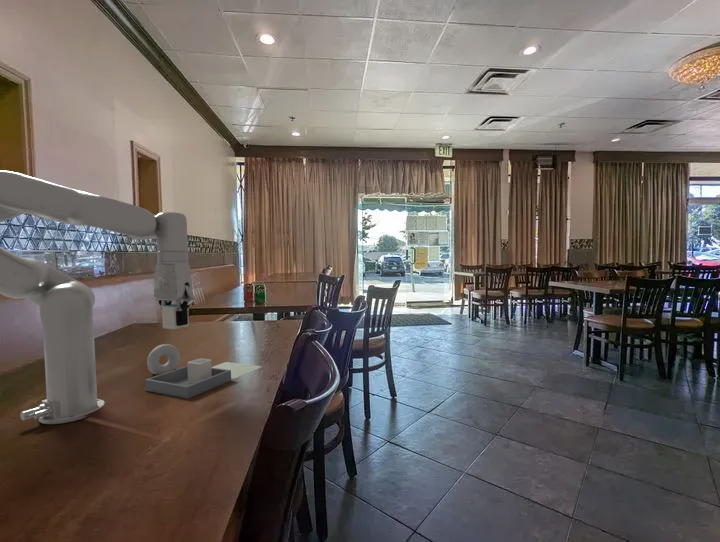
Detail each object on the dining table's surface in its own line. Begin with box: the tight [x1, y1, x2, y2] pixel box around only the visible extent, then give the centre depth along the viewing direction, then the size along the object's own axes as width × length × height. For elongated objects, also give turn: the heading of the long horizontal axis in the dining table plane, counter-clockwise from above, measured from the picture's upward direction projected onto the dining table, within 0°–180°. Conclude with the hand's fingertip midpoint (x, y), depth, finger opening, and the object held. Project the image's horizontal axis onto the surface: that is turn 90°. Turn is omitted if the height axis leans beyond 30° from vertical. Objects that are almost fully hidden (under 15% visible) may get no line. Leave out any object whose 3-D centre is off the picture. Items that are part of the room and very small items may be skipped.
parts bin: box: [144, 365, 232, 400], centre depth 104 cm, size 15×17×4 cm
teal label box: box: [161, 303, 190, 330], centre depth 100 cm, size 5×5×6 cm
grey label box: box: [186, 358, 213, 384], centre depth 107 cm, size 5×5×6 cm
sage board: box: [212, 361, 262, 380], centre depth 118 cm, size 13×16×1 cm
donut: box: [146, 343, 181, 376], centre depth 117 cm, size 10×4×10 cm, turn 143°
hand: (175, 323), depth 100 cm, fingers closed on teal label box, 4 cm apart
